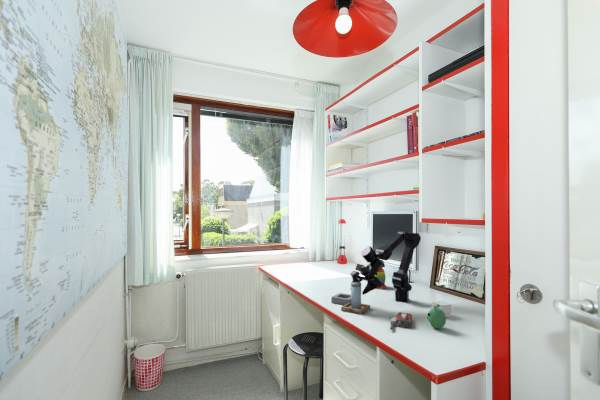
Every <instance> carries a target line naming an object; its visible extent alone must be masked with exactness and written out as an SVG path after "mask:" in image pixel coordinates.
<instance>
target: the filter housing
mask: <svg viewBox="0 0 600 400" xmlns="http://www.w3.org/2000/svg"><path fill="white" fill-rule="evenodd" d="M349 302H351V294H348V293H342V292H339V293H337V294H335V295H332V296H331V303H332V304H337V305H342V306H344V305H346V304H347V303H349Z"/></svg>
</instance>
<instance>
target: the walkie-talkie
mask: <svg viewBox="0 0 600 400" xmlns="http://www.w3.org/2000/svg"><path fill="white" fill-rule="evenodd" d="M412 325H413V315H412V314H411V313H409V312H401V311H400V312H398V313H397V314H396V316H395V317H391V320H390V328H389V330H391V331H392V330H393V329H394V326H395V327H401V328H408V329H411V328H412Z"/></svg>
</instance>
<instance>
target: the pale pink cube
mask: <svg viewBox="0 0 600 400" xmlns="http://www.w3.org/2000/svg"><path fill="white" fill-rule="evenodd" d="M437 304H439V305H440V306H439V309H441V310H442V311H443V312H444V314H445V316H446V318H452V304H451V303H449V302H446V301H444V300H440V301H432V302H431V306H432V307H431V309H433V308H434V306H437ZM437 308H438V306H437Z"/></svg>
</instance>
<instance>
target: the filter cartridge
mask: <svg viewBox="0 0 600 400" xmlns="http://www.w3.org/2000/svg"><path fill="white" fill-rule="evenodd" d="M350 295H351V308H353V309H361V304H362V283H359V282H352V281H351V282H350Z"/></svg>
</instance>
